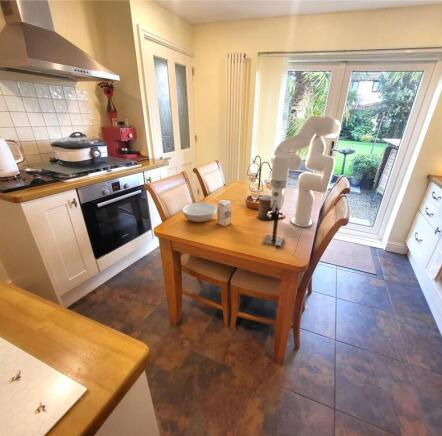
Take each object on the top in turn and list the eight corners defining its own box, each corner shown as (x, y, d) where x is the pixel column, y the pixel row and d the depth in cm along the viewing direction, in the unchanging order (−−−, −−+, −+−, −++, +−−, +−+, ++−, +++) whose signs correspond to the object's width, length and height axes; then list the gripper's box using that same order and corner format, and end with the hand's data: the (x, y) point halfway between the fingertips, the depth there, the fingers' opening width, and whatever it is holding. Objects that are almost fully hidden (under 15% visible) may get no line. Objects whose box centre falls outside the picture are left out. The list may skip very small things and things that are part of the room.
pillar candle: (272, 221, 146) (274, 199, 140) (256, 219, 148) (258, 197, 142) (273, 215, 155) (275, 193, 149) (258, 213, 157) (260, 192, 150)
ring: (269, 212, 122) (269, 209, 122) (286, 214, 120) (286, 212, 119) (265, 218, 114) (265, 215, 113) (283, 222, 112) (284, 218, 111)
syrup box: (224, 221, 144) (224, 199, 138) (231, 224, 141) (231, 201, 135) (217, 224, 140) (217, 201, 134) (224, 227, 137) (224, 204, 131)
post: (267, 236, 129) (269, 215, 123) (283, 239, 126) (286, 217, 121) (263, 244, 121) (265, 221, 115) (280, 248, 119) (283, 225, 113)
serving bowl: (198, 209, 160) (198, 199, 157) (223, 216, 150) (223, 206, 147) (175, 220, 143) (175, 209, 140) (202, 229, 134) (202, 218, 131)
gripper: (284, 188, 98) (279, 227, 106) (289, 179, 112) (284, 214, 120) (267, 186, 100) (263, 225, 108) (273, 177, 114) (270, 212, 122)
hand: (274, 219), depth 114 cm, fingers closed on ring, 2 cm apart
